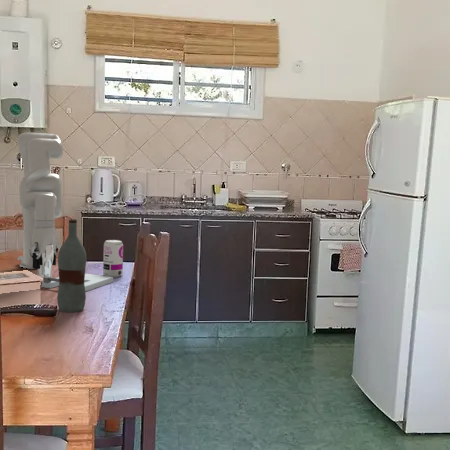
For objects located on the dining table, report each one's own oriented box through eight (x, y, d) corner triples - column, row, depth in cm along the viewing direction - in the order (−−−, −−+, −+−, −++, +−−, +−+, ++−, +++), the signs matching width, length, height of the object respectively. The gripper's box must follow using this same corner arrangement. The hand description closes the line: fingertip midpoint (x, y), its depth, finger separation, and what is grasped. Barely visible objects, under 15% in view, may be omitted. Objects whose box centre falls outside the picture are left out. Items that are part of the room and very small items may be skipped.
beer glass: (47, 283, 220) (48, 246, 218) (31, 281, 221) (32, 244, 220) (56, 279, 227) (56, 243, 225) (40, 278, 228) (41, 242, 226)
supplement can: (124, 274, 244) (125, 240, 243) (119, 277, 236) (120, 243, 234) (106, 272, 245) (107, 239, 243) (100, 276, 237) (101, 241, 235)
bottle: (70, 314, 179) (72, 222, 176) (50, 309, 184) (51, 219, 180) (91, 308, 187) (93, 220, 184) (72, 303, 192) (73, 217, 188)
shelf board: (41, 287, 213) (41, 277, 213) (76, 276, 234) (76, 267, 234) (80, 293, 207) (81, 282, 207) (113, 281, 228) (113, 272, 228)
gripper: (50, 222, 231) (50, 262, 232) (22, 225, 215) (22, 269, 216) (66, 223, 228) (65, 264, 230) (38, 226, 212) (37, 271, 214)
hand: (44, 266), depth 223 cm, fingers open, 9 cm apart
